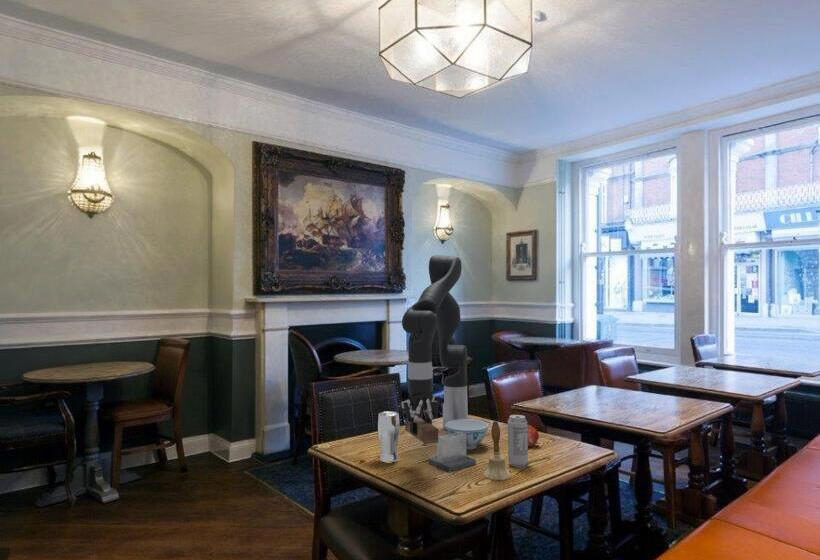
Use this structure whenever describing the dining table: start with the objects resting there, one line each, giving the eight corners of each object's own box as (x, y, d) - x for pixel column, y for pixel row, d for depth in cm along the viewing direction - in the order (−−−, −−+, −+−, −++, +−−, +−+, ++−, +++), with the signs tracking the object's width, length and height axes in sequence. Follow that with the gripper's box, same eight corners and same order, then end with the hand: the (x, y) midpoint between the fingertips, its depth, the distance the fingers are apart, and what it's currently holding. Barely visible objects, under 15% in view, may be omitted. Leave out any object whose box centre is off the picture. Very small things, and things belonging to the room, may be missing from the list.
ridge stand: (428, 463, 163) (428, 434, 163) (455, 456, 169) (454, 429, 169) (448, 471, 155) (448, 441, 155) (475, 464, 161) (475, 435, 161)
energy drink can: (524, 461, 164) (523, 413, 164) (530, 467, 158) (529, 418, 158) (505, 462, 163) (505, 414, 164) (511, 468, 157) (511, 419, 158)
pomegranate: (520, 448, 185) (509, 436, 179) (528, 430, 188) (517, 417, 182) (538, 454, 180) (527, 442, 174) (546, 436, 183) (535, 423, 177)
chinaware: (497, 447, 179) (497, 425, 179) (466, 456, 170) (465, 432, 170) (467, 438, 191) (467, 417, 191) (436, 445, 182) (436, 423, 182)
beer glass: (389, 455, 171) (389, 410, 171) (404, 460, 166) (403, 413, 166) (373, 460, 166) (373, 413, 167) (388, 465, 161) (387, 417, 162)
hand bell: (492, 482, 146) (492, 426, 146) (477, 473, 154) (476, 419, 154) (517, 478, 149) (516, 422, 150) (501, 469, 157) (500, 416, 157)
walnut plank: (405, 429, 162) (405, 417, 162) (416, 428, 164) (416, 415, 164) (425, 444, 147) (425, 430, 147) (438, 442, 149) (438, 428, 149)
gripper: (431, 372, 163) (432, 426, 163) (393, 377, 155) (394, 434, 155) (446, 375, 157) (447, 431, 157) (408, 380, 149) (408, 440, 148)
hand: (421, 432), depth 156 cm, fingers closed on walnut plank, 4 cm apart
